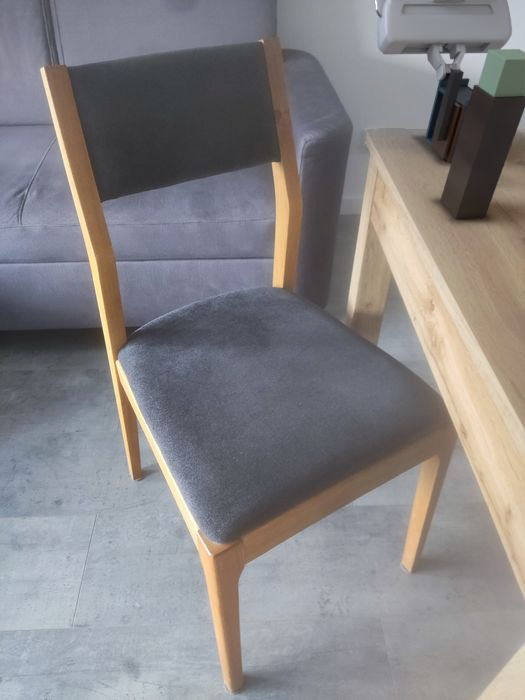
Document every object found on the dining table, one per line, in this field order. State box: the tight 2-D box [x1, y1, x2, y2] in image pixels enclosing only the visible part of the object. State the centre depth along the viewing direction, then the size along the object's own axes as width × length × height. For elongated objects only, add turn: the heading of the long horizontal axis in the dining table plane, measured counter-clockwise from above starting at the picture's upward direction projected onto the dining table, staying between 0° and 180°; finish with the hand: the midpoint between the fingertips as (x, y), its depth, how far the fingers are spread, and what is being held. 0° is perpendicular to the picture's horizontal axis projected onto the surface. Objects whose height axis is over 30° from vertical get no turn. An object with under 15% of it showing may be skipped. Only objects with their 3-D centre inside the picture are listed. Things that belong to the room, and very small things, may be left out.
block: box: [477, 48, 525, 97], centre depth 62 cm, size 4×4×4 cm
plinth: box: [439, 84, 525, 220], centre depth 68 cm, size 4×5×16 cm
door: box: [429, 68, 465, 160], centre depth 82 cm, size 2×5×13 cm, turn 10°
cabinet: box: [424, 77, 473, 164], centre depth 85 cm, size 6×10×10 cm, turn 11°
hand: (449, 78), depth 79 cm, fingers closed
